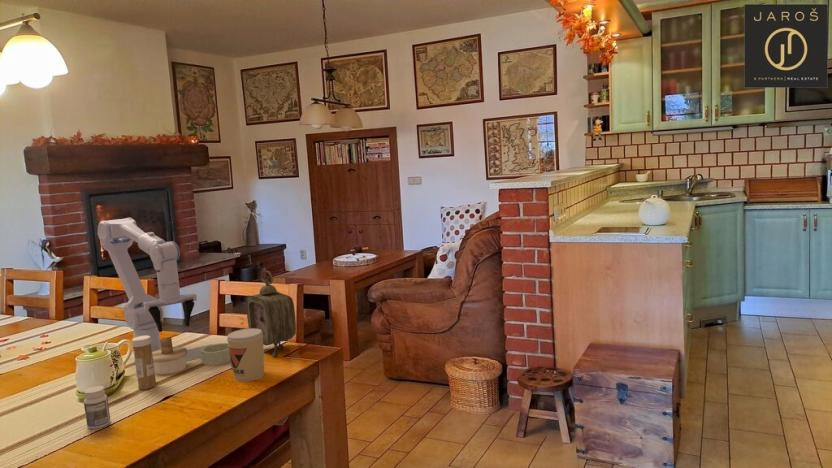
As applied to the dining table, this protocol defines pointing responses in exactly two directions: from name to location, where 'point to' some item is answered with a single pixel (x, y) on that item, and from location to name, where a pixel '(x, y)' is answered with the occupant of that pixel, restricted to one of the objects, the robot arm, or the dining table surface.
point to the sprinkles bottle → (144, 362)
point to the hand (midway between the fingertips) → (173, 328)
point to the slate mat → (194, 353)
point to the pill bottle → (96, 407)
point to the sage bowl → (215, 354)
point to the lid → (168, 351)
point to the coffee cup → (246, 354)
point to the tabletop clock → (271, 314)
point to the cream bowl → (170, 366)
